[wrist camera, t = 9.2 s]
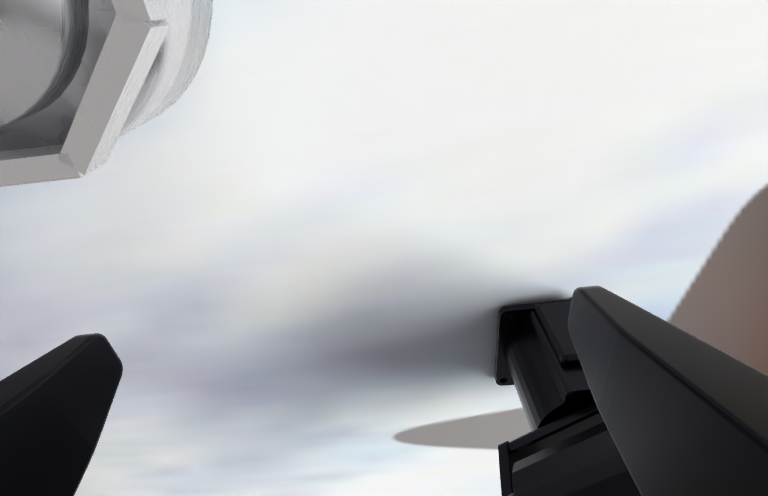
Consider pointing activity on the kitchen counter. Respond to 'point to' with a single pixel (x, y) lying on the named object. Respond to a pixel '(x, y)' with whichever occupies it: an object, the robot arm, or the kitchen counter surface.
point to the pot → (109, 88)
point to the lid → (39, 53)
